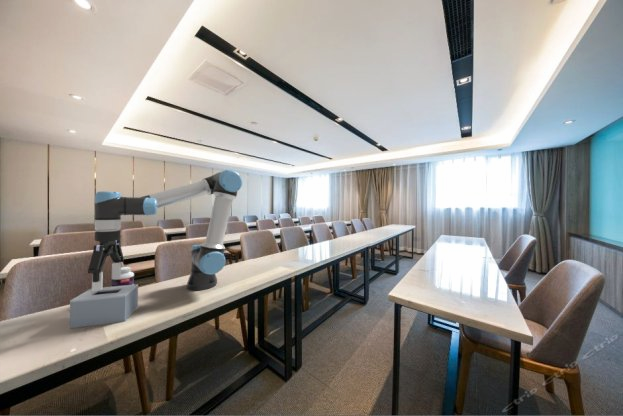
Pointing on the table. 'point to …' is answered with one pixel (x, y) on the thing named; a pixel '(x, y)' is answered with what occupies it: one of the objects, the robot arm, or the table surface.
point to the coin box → (103, 306)
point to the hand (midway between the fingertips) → (107, 283)
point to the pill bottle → (124, 278)
